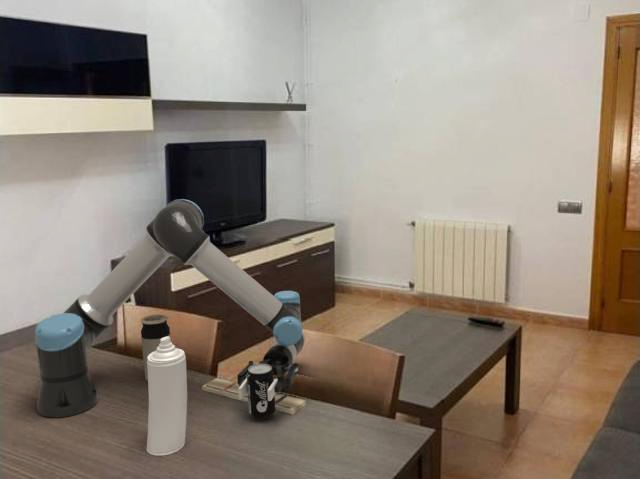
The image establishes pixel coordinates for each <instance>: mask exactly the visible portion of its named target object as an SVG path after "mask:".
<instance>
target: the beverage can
mask: <svg viewBox="0 0 640 479" xmlns="http://www.w3.org/2000/svg"><path fill="white" fill-rule="evenodd" d="M271 369H272V368H271V366H270V365H267V364H256V363H255V365H252V366H250V367H249V368H248V373H247V389H248V402H247V403H248V406H247V407H248V414H249V415H250V416H251V417H252V418H255V419H258V420H259V419H267V418H269V417H271V416H273V415H274V413H275V412H276V410H275V395H274V397H273V399H272V400H271V401H268V392H267V390H268V389H269V387H270V386H271V384H272V382H273V381H274V379H275V375H274V373H273V371H272V370H271Z"/></svg>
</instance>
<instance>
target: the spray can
mask: <svg viewBox="0 0 640 479" xmlns="http://www.w3.org/2000/svg"><path fill="white" fill-rule="evenodd" d="M170 339H171V336H170V337H169V336H167V337H163V338H162V339H161V340H160V344H159V346H158V347H157V350H156V351H154V352H152V353H151V354H149V355H148V357H147V359H148V360H147V369H148V381H147V382H148V384H147V388H148V418H147V419H148V420H147V421H148V422H147V441H146V442H147V443H146V451H147V453H148V454H149V455H151V456H157V457H160V456H161V457H164V456H168V455H172V454H174V453H177V452H178V451H180V450H181V449H182V448H184V446H185V444H186V432H187V412H188V410H187V408H188V382H187V359H186V358H187V357H186V354H185V351H184V350H183V349H181V348H178V347H176V345H174V344H173V342H172V341H171V342H170Z"/></svg>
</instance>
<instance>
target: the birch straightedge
mask: <svg viewBox="0 0 640 479" xmlns="http://www.w3.org/2000/svg"><path fill="white" fill-rule="evenodd" d="M201 387H202V388H201V389H202V391H204V392H208V393H210V394H211V393H212V394H214V395H219V396H223V397H227V398H231V399H233V400H238V401H242V402H245V403H248V391H247V393H246V394H245V395H244V397H243V398H242V399H239V392H238V388H239V385H238V382H236V381H230V380H227V379H222V378H218V377H216V378H214V379H213V380H211V381H209V382H207V383H205V384H203V385H202V386H201ZM306 404H307V403H306V399H301V398H296V397H292V396H289V395H286V394H282V393H277V392H276V394H275V411H278V412H282V413H286V414H290V415H294V414H295V413H297V412H299V410H301V409H302V408H304V407H306Z"/></svg>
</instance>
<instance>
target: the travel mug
mask: <svg viewBox="0 0 640 479" xmlns="http://www.w3.org/2000/svg"><path fill="white" fill-rule="evenodd" d="M168 319H169V317H168V316H167V315H165V314H152V315H147V316H143V317H142V318H141V319H140V323H141V324H142V328H141V330H140V335H141V336H140V337H141V346H142V357H143V358H142V359H143V368H144V380H145V381H147V382H148V369H147V360H148V359H147V357H148V355H149V354H151V353H152V352H154V351H156V350H157V347H158V346H159V344H160V340H161V339H162V338H163V337H167V336H169V337H170V342H171V343H172V341H171V329H170V326H169V324H168Z"/></svg>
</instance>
